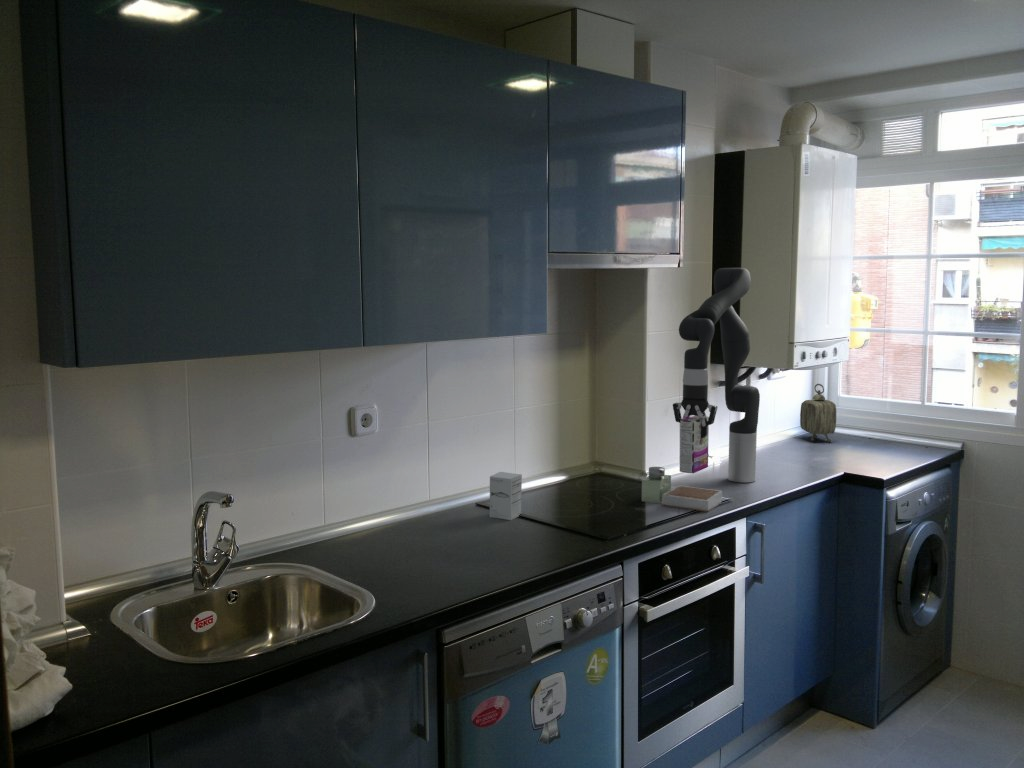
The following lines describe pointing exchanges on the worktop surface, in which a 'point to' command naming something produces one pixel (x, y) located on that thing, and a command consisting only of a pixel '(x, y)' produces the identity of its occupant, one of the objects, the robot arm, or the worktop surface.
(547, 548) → the worktop surface
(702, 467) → the candy bar box
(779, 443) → the worktop surface
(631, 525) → the worktop surface
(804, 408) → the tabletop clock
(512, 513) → the supplement box
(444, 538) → the worktop surface
